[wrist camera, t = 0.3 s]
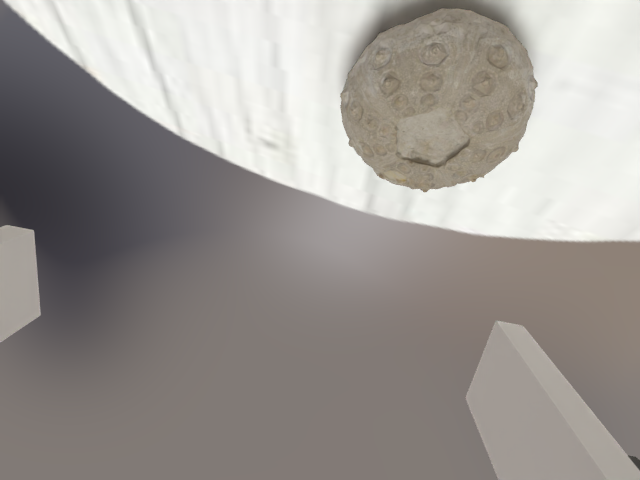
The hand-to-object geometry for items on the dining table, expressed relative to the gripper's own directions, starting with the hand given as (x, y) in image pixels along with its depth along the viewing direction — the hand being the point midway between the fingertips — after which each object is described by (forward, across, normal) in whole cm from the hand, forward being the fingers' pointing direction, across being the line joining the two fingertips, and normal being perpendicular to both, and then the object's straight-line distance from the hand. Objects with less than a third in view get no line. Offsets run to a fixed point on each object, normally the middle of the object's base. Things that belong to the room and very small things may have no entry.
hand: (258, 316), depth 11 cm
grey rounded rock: (+34, +10, +10) cm, 37 cm away
